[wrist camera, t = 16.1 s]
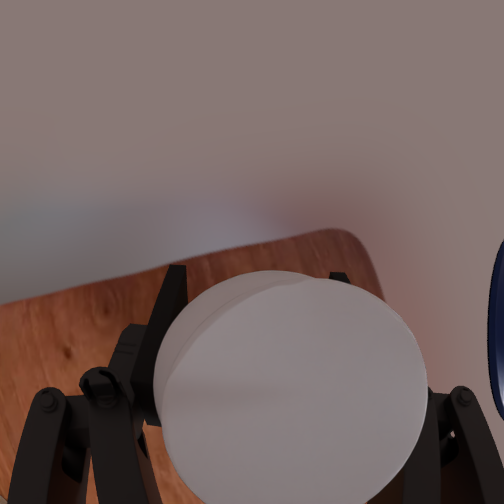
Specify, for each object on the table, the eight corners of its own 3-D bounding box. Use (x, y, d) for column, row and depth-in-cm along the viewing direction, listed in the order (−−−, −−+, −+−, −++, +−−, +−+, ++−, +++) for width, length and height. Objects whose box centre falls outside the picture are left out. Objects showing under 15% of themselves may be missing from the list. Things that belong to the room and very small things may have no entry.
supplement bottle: (322, 385, 16) (485, 442, 4) (222, 432, 15) (219, 591, 2) (276, 289, 17) (380, 174, 5) (174, 333, 16) (47, 309, 4)
